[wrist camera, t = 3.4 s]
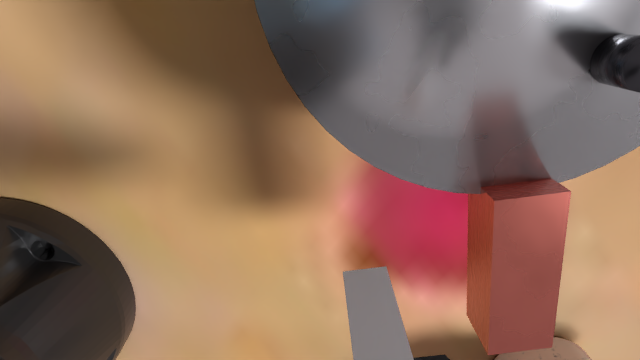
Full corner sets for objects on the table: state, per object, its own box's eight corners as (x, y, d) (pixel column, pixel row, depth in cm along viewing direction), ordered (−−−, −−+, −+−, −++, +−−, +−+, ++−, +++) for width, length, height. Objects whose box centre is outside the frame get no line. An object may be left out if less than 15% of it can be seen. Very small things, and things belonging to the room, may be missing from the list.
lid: (188, -402, 10) (128, -610, 7) (887, -517, 10) (1195, -798, 6) (313, 332, 19) (315, 401, 16) (679, 289, 19) (760, 349, 15)
